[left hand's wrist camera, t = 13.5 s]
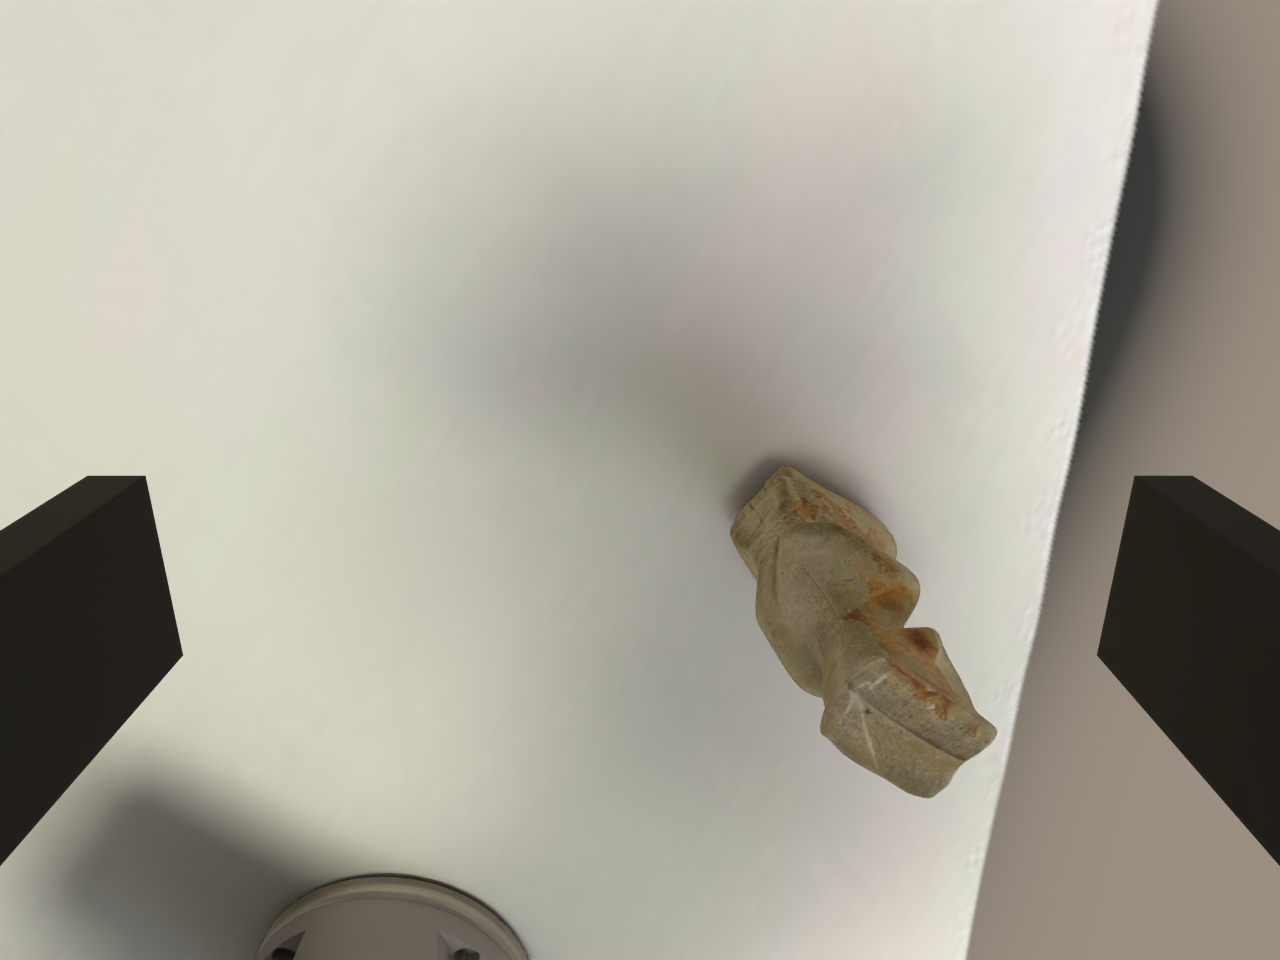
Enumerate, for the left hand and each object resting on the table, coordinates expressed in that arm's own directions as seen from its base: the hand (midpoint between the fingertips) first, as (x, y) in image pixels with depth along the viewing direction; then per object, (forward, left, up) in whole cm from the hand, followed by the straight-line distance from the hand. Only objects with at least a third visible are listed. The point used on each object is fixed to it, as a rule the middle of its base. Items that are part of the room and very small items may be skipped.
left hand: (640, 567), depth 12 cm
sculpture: (-11, -7, -26) cm, 30 cm away
